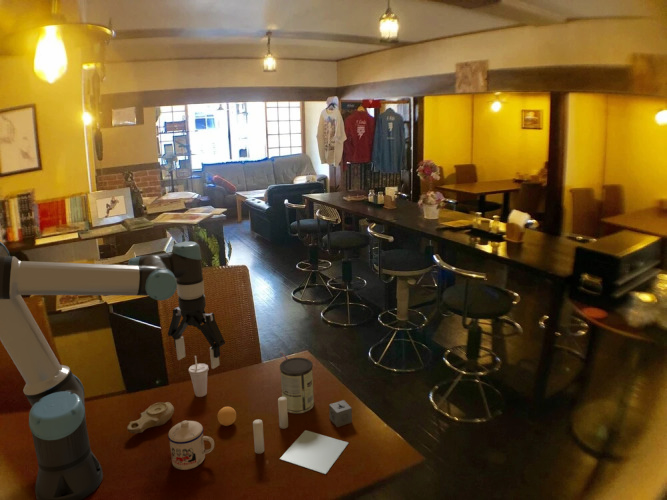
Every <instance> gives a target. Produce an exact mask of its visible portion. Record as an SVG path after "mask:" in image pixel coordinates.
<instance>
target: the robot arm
mask: <svg viewBox="0 0 667 500" xmlns="http://www.w3.org/2000/svg"><path fill="white" fill-rule="evenodd" d="M202 259H203V257H202V252H201V246H200V244H199V243H197V242H196V241H180V242H177V243H174V244H173V245H172V250H171V251H169V252H162V253H156V254H146V255H139V256H135V257H129V260H128V261H127V262H128V263H127V264H111V263H110V264H107V263H106V264H105V263H83V262H82V263H81V262H79V263H78V262H56V261H54V262H52V261H26V260H22V261H21V260H19V259H18V258H17V257H16V256H11V255H10V252H9V250H8V248H7V247H6V245H5V244H4V243H3V242H1V241H0V342H1V344H2V346H3V347H4V349H5V351H7V354H8V355H9V357H10V358H11V360H12V362H13V364H14V365H15V367H16V368H17V370H18V372H19V373H20V376H22V379H23V380H24V382H25V385H24V387H23V391H22V392H23V393H24V395H25V397H26V398H27V401H28V403H30V406H31V408H30V410H29V413H28V427H29V429H30V431H31V435H32V440H33V446H34V451H35V454H36V459H37V465H38V470H37V474H36V475H37V476H36V482H35V485H34V492H35V497H36V500H84V499H85V498H86V497H88V496H90V495H91V494H92V493H93V492H95V491H96V489H98V487H99V486H100V484H101V483H102V481H103V477H104V474H103V469H102V465H101V464H100V461H99V460H98V458H97V457H96V456H95V454H94V453H93V451H92V450H91V443H90V439H89V432H88V426H87V418H86V405H85V387H84V385H83V383H82V381H81V380H80V378H78V377H77V376H76V375H75V374H73V372H72V370H71V368H70V367H69V366H68V365H66V364H65V365H64V364H60V362H59V360H58V358H57V356H56V354H55V353H54V351H53V350H52V348H51V346H50V344H49V343H48V341H47V338H46V337H45V335H44V333H43V332H42V330H41V329H40V327H39V325H38V323H37V321H36V320H35V317H34V316H33V314H32V313H31V310H30V308H29V307H28V305H27V303H26V302H25V300H24V298H23V297H22V296H135V297H136V296H140V297H143V296H144V297H147V296H148V297H149V298H151V299H153V300H156V301H167V300H168V299H170V298H172V296H173V295H175V293H176V291H177V296H178V297H177V301H178V306H177V307H174V308H173V309H172V317H171V321H170V325H169V327H168V331H167V335H168V337H172V339H173V341H174V343H173V344H174V348H175V350H176V357H177V360H178V361H180V360H182V359H183V358H185V357H186V347H185V340H184V336H183V333H184V332H185V330H186V329H187V327H189V326H190V327H191V326H192V327H195V328H197V329H198V330H199V331H200V332H201V333H202V335H203V336H204V338H205V339H206V340H207V342H208V344H209V345H210V347H209V355H210V356H209V357H210V367H211V368H210V369H213V370H214V369H216V368H217V367H218V366H220V356H221V351H220V347H222V346H223V345H225V344H226V341H225V339H224V337H223V333H222V332H221V330H220V328H219V325H218V323H217V321H216V318H215V317H216V316H215V313H213V312H210V313H206V311H205V309H206V304H207V302H206V295H205V294H204V293H205V284H204V283H205V282H204V273H203V260H202ZM181 318H182V319H181Z"/></svg>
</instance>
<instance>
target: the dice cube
mask: <svg viewBox="0 0 667 500" xmlns="http://www.w3.org/2000/svg"><path fill="white" fill-rule="evenodd" d="M328 407H329V421H331V423H333V425H334V426H335V427H336V428H339V427H343V426H346V425H348V424H351V423H353V417H352V416H353V413H352V412H353V410H352V409H353V407H351V406H350V405H349V404H348V402H346V400H345V399H342V400H339V401H336V402H334V403H330V404H329V405H328Z"/></svg>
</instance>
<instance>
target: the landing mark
mask: <svg viewBox="0 0 667 500" xmlns="http://www.w3.org/2000/svg"><path fill="white" fill-rule="evenodd" d="M348 445H349V442H348V441H344V440H341V439H337V438H334V437H331V436H327V435H323V434H320V433H318V432H317V433H316V432H314V431H310V430H306V429H305V430H304V431H303V432H302V433H301V434H300V436H299V437H298V438H297V439H295V441H294V442H293V443H292V444H291V445H290V447H288V448H287V450H286V451H285V452H284V453H283V454H282V456H281V457H280V458H279V460H281V461H284V462H287V463H290V464H293V465H296V466H299V467H302V468H306V469H307V470H311V471H315V472H318V473H320V474H323V475H327V474H328V473H329V471H330V469H331V468H332V467H333V465H334V464H335V463H336V462H337V460H338V459H339V457H340V456H341V454H342V453H343V452H344V450H345V449H346V448H347V446H348Z"/></svg>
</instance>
